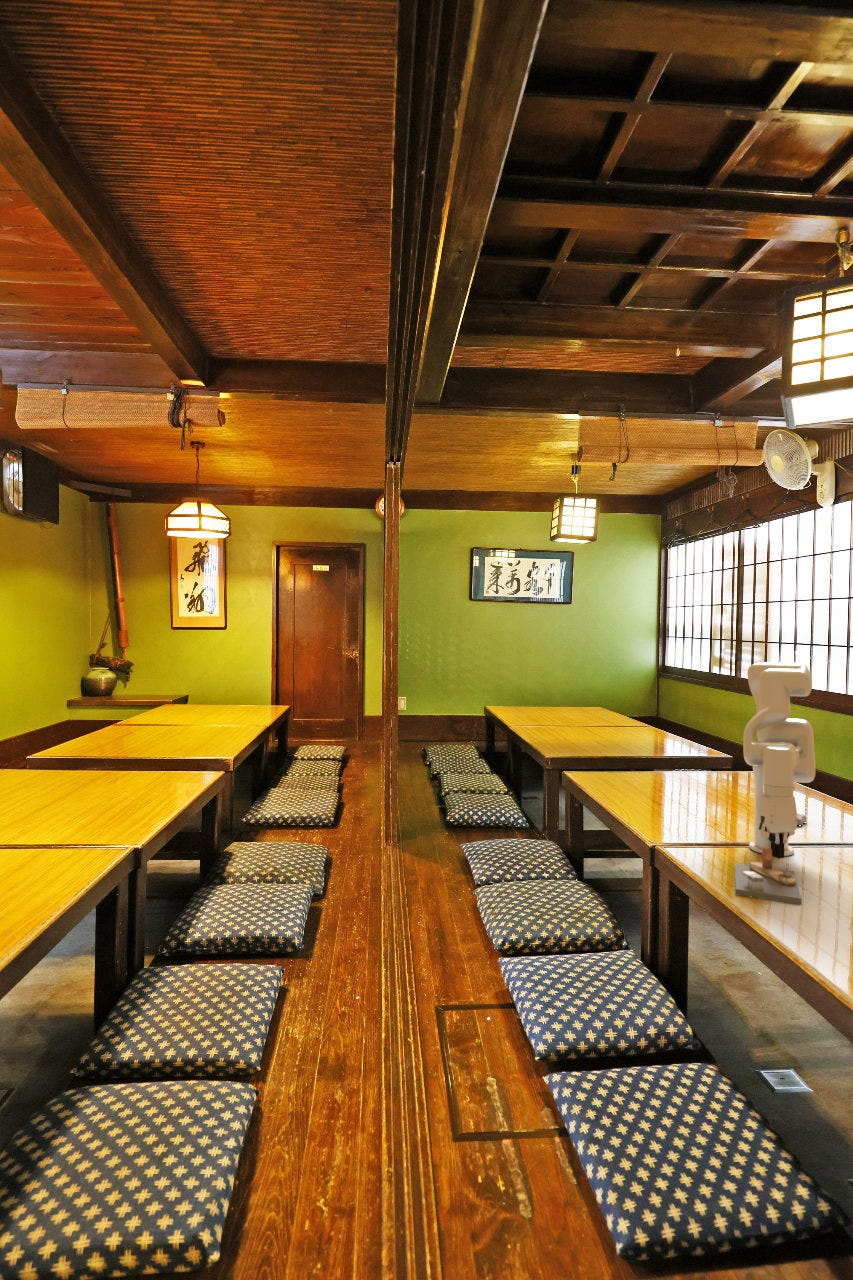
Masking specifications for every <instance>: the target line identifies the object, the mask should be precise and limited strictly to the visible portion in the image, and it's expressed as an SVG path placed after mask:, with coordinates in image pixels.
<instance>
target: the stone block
mask: <svg viewBox="0 0 853 1280" xmlns="http://www.w3.org/2000/svg"><path fill="white" fill-rule="evenodd" d="M804 822H806V823H807V815H805V814H802V813H801V814H800V813H797V825H802V826H803V825H804V824H803V823H804Z"/></svg>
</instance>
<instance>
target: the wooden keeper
mask: <svg viewBox="0 0 853 1280" xmlns="http://www.w3.org/2000/svg"><path fill="white" fill-rule="evenodd" d="M742 875H743V876H745V877H746V878H748V887H749V888H750V889H751V890H764V878H763V877H762V876H760V875H759V874H757V873H756V872H754V871H743V872H742Z"/></svg>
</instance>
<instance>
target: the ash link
mask: <svg viewBox="0 0 853 1280" xmlns="http://www.w3.org/2000/svg"><path fill="white" fill-rule="evenodd" d="M761 854H762V855H761V857H762V859H761V861H749V864H748V865H749V868H750V869H753V870H755V871H757V872H759V873H761V874H764V875H766V876H768V877H770V878H772V879H775V880H777V881H779V882H780V883H782V884H785V885H795V884H796V881H797V877H796V876H795V877H796V878H795V877H794V876H792V875H791V873H790V872H781V871H779V870H777V869H778V868H775V869H774V867H773V856H772V849H770V848H762V853H761Z"/></svg>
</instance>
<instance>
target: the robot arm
mask: <svg viewBox="0 0 853 1280" xmlns="http://www.w3.org/2000/svg"><path fill="white" fill-rule="evenodd" d="M747 681H748V682H747V683H748V686H749V691H750V692H751V695H752V697H753V699H754V702H755V706H756V708H755V709H756V710H755V711H756V714H754V716H752V717H751V718H750V720H749V721H748V722H747V724H746V726H745V728H744V731H743V735H742V736H743V737H742V738H743V741H742V743H743V747H742V748H743V758H744V761H745V763H746V764H747V765H749V766H751V767H752V771H753V772H752V773H753V780H754V840H753V841H750V842H749V843H748V848H749V849H750V850H752V851H754V852H756V853H760V854H762V848H770V849H772V858H773V857H774V858H775V859H776V858H777V859H780V860H781V859H785V857H787V856H792V855H793V854H794V853H795V848H793V846H791V845H789V837H792V836H794V835H795V834H796V830H797V827H798V826H797V814H798V813H797V811H798V810H797V804H796V803H797V802H796V799H795V796H794V791H795V789H796V788H795V786H794V783H799V784H800V783H801V784H802V783H803V784H804V783H805V784H806V783H807V784H808V783H811V782H813V781H814V779H815V777H816V756H815V752H816V751H815V736H814V729H813V726H812V724H811V722H810V721H809V720H807V719H803V718H792V717H790V716H791V714H792V713H791V712H792V711H791V709H792V708H791V698H790V697H802V698H803V697H808V696H809V695H810V694H811V692H812V687H813V680H812V675H811V672H810V670H809V668H808V666H807V664H805V663H803V662H802V663H801V662H781V661H780V662H777V661H776V662H775V661H765V662H764V661H762V662H757V663H753V664H751V665H750V666H749V667H748V669H747ZM755 734H756V735H757V736H756V737H757V740H755V739H754V737H755Z"/></svg>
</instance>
